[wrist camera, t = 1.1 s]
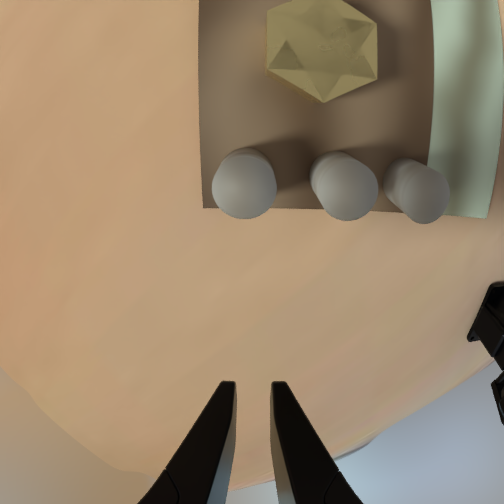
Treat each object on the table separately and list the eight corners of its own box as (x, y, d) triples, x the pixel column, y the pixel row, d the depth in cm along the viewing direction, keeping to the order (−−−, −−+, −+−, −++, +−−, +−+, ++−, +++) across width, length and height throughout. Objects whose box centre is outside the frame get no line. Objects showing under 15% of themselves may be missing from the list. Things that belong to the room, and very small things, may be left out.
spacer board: (490, -8, 10) (521, -15, 6) (481, 215, 18) (510, 236, 15) (204, -67, 10) (194, -96, 7) (205, 203, 18) (193, 228, 15)
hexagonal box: (356, 12, 12) (375, -2, 9) (356, 106, 15) (376, 108, 12) (264, 3, 12) (266, -16, 9) (264, 100, 15) (267, 100, 12)
